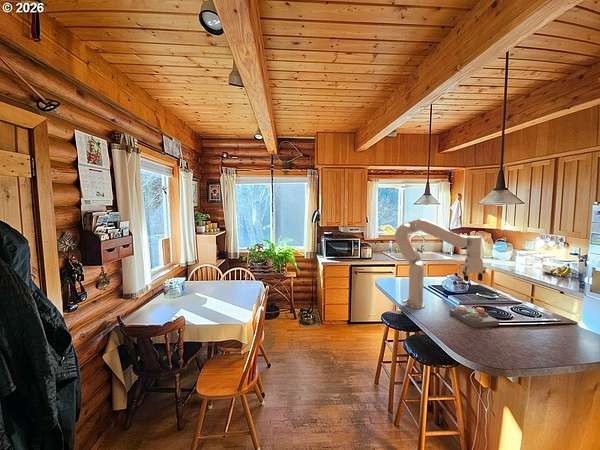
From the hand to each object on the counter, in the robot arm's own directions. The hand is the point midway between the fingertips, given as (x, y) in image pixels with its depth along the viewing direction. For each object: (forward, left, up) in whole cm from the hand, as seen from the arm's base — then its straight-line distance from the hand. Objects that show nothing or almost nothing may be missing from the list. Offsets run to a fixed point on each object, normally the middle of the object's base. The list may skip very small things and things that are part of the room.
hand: (473, 280), depth 177 cm
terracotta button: (-2, -8, -18) cm, 20 cm away
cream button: (-10, -3, -18) cm, 21 cm away
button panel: (-6, -8, -22) cm, 24 cm away
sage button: (-10, -13, -18) cm, 24 cm away
